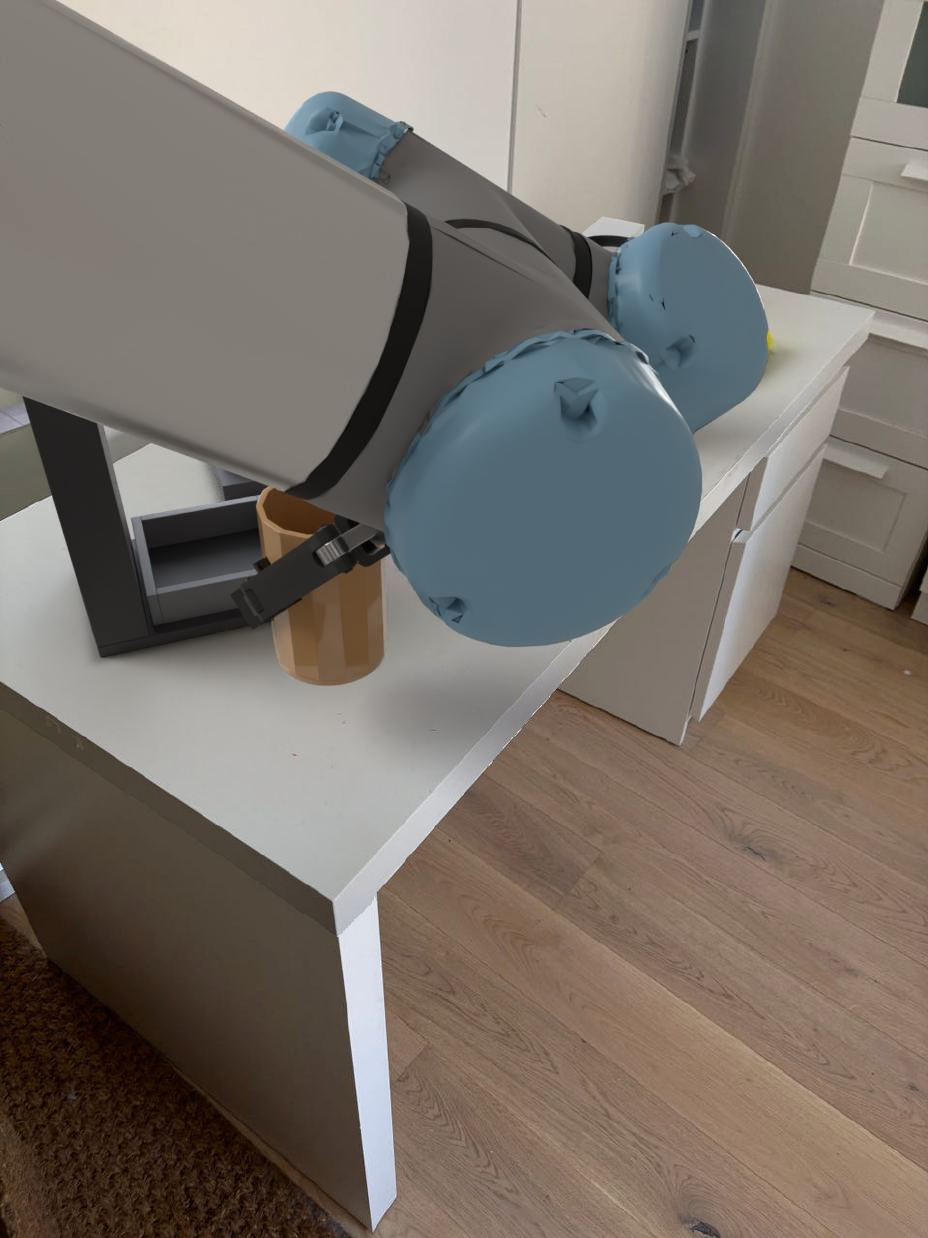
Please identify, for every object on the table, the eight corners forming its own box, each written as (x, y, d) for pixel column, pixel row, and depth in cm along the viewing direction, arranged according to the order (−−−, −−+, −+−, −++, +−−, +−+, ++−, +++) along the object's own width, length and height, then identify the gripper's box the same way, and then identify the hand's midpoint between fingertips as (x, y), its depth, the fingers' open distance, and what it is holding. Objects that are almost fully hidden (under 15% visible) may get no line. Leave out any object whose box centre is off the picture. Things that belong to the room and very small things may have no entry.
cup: (290, 698, 63) (272, 548, 56) (265, 625, 69) (246, 480, 61) (401, 672, 65) (398, 524, 58) (368, 604, 71) (362, 461, 63)
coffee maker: (301, 614, 80) (269, 333, 64) (99, 657, 75) (13, 366, 60) (266, 523, 90) (231, 262, 74) (86, 557, 85) (9, 285, 70)
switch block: (306, 487, 95) (303, 455, 92) (224, 501, 92) (219, 469, 90) (284, 439, 102) (281, 409, 100) (207, 451, 100) (202, 420, 97)
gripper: (377, 618, 42) (201, 705, 60) (634, 447, 54) (423, 562, 73) (285, 470, 41) (135, 603, 60) (567, 330, 54) (371, 476, 72)
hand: (293, 581), depth 66 cm, fingers closed on cup, 8 cm apart
